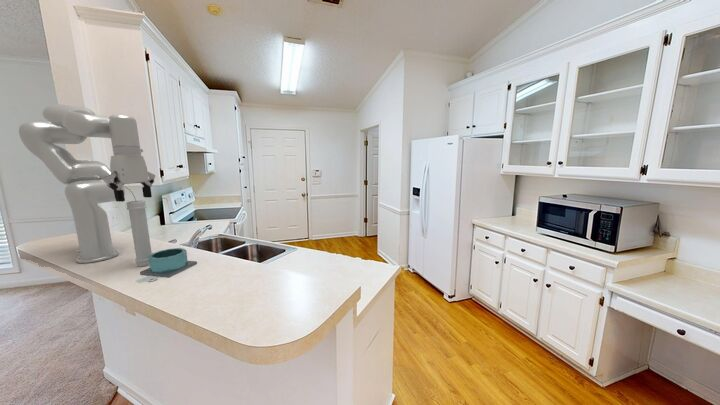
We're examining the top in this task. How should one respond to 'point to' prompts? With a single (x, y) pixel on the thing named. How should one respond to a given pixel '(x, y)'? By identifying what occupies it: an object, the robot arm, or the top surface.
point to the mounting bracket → (148, 279)
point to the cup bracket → (168, 263)
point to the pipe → (139, 231)
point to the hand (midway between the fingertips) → (134, 199)
